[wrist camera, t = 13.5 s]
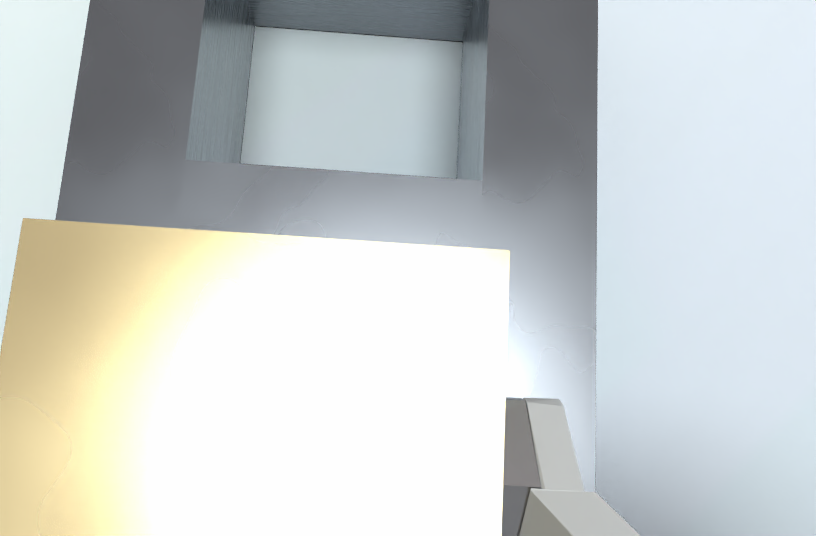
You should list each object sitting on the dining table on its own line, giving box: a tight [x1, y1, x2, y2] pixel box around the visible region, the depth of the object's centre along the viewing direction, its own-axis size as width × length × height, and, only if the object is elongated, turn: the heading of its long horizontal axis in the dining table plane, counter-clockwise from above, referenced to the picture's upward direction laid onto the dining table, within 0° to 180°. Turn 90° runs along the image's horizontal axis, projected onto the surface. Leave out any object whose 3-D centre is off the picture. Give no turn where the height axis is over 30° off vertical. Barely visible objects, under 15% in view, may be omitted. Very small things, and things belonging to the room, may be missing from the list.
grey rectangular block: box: [56, 0, 598, 492], centre depth 16 cm, size 24×10×5 cm, turn 177°
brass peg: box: [0, 218, 510, 536], centre depth 11 cm, size 4×4×10 cm
